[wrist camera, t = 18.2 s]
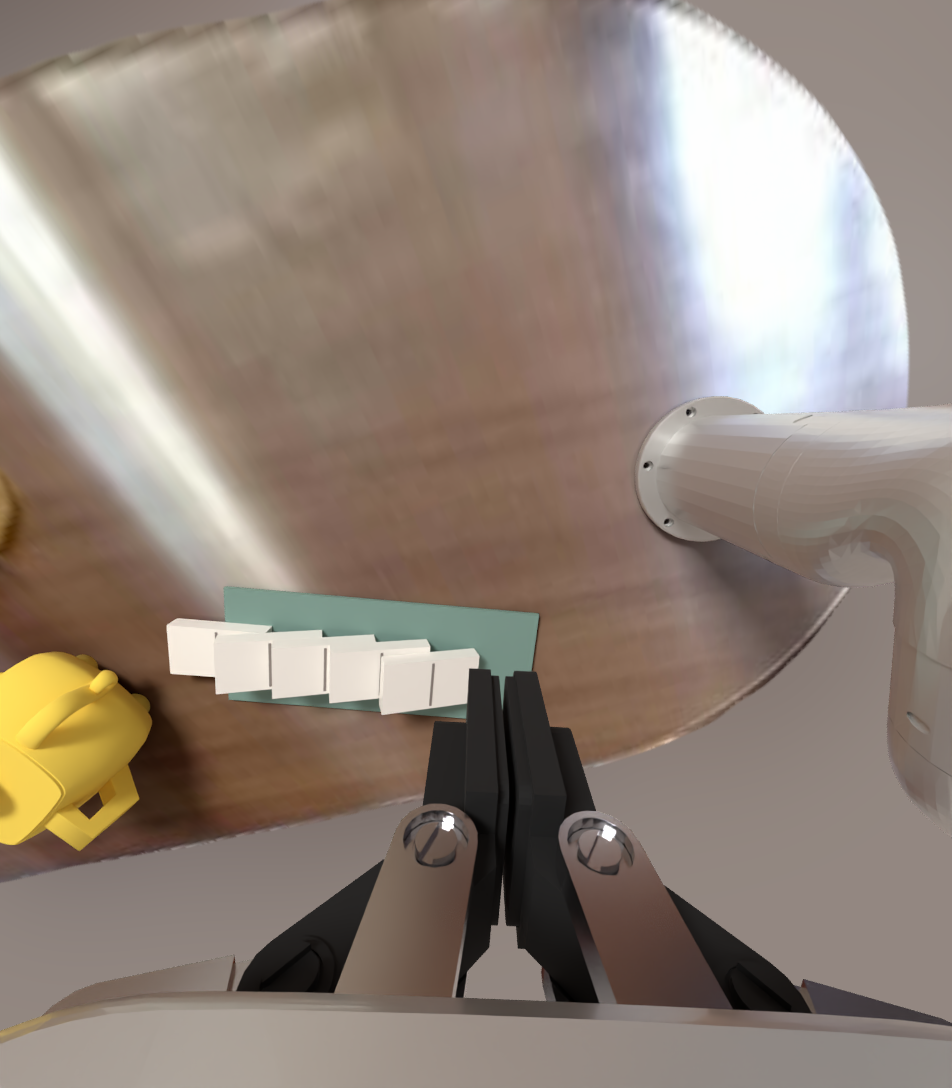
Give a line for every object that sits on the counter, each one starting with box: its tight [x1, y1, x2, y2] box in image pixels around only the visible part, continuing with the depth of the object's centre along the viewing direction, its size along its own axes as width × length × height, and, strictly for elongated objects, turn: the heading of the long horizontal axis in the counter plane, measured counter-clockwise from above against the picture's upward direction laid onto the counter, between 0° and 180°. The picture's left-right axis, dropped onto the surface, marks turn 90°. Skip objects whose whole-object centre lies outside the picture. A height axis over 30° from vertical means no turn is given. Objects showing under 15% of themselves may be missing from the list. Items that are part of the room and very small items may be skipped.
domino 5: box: [379, 648, 480, 715], centre depth 43 cm, size 2×5×9 cm
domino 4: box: [329, 639, 430, 703], centre depth 43 cm, size 2×5×9 cm
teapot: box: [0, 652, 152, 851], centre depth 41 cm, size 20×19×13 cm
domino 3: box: [271, 634, 376, 699], centre depth 43 cm, size 2×5×9 cm
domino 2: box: [213, 630, 322, 694], centre depth 43 cm, size 2×5×9 cm
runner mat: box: [224, 586, 539, 719], centre depth 46 cm, size 30×12×1 cm, turn 85°
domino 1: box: [167, 618, 272, 677], centre depth 44 cm, size 2×5×9 cm
